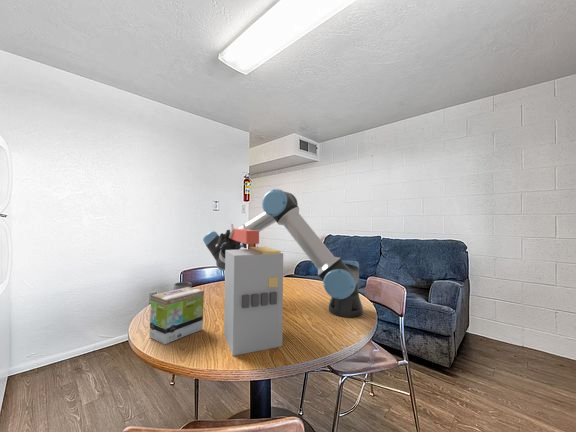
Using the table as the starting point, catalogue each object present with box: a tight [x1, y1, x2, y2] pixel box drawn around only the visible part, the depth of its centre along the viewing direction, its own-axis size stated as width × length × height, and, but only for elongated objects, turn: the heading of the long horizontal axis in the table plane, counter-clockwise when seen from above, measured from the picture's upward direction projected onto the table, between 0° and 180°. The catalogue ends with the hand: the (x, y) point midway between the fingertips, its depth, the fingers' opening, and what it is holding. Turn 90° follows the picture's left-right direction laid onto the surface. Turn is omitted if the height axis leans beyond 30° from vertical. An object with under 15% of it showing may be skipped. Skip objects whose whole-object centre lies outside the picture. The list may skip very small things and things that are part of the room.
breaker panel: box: [223, 248, 284, 357], centre depth 87 cm, size 17×16×30 cm
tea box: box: [148, 287, 205, 345], centre depth 92 cm, size 15×10×15 cm, turn 148°
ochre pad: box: [249, 246, 282, 254], centre depth 90 cm, size 16×6×1 cm, turn 23°
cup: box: [173, 281, 193, 290], centre depth 123 cm, size 10×9×10 cm
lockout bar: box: [230, 228, 260, 245], centre depth 92 cm, size 28×4×4 cm, turn 23°
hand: (238, 227), depth 98 cm, fingers closed on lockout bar, 4 cm apart
